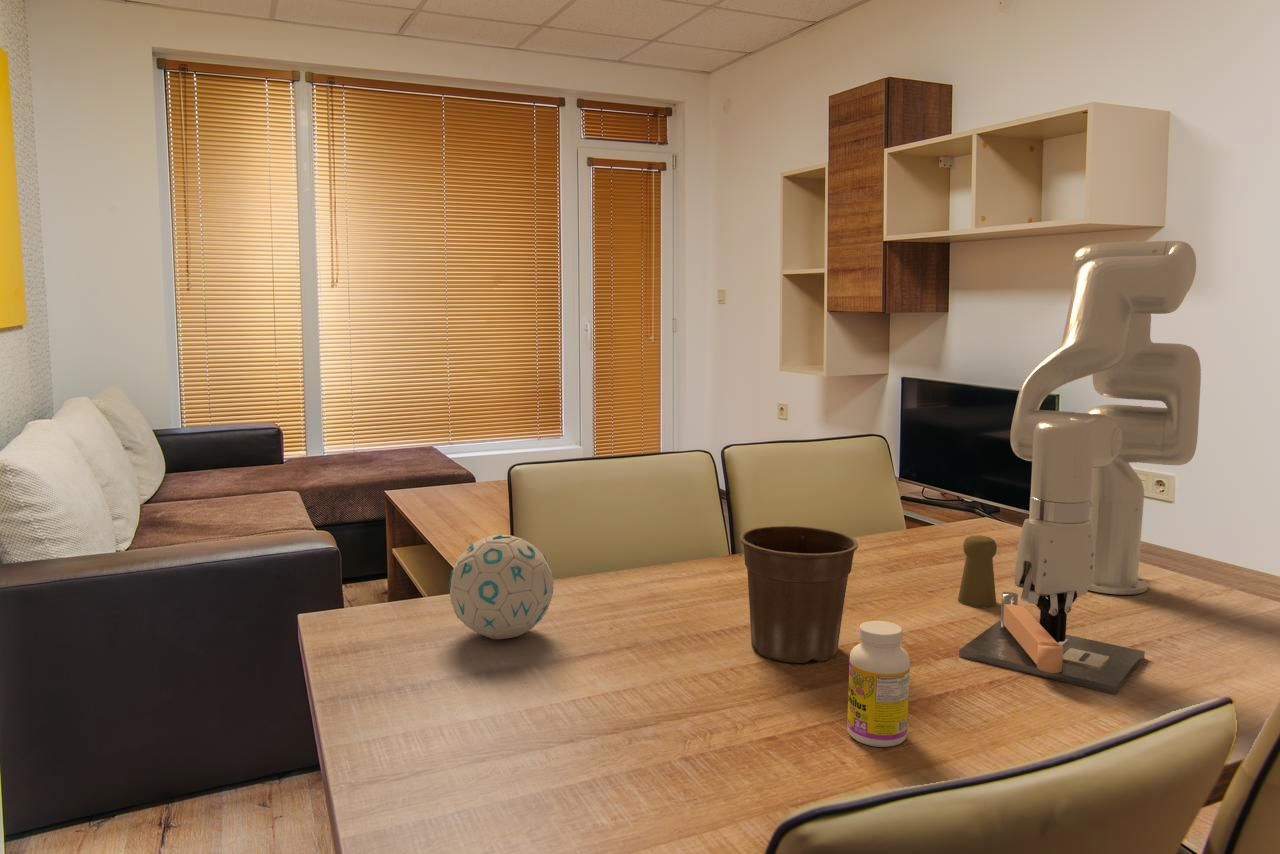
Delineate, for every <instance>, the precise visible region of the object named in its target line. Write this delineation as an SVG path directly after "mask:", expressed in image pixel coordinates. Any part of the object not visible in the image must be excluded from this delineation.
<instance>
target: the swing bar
mask: <svg viewBox="0 0 1280 854" xmlns="http://www.w3.org/2000/svg"><path fill="white" fill-rule="evenodd" d="M1003 624H1004V626H1005V627H1006V628H1007V629H1008V630H1009V632H1010V633H1011V634H1012V635H1013V637H1014V638H1015V639H1016V640H1017V641H1018V643H1019V644H1020V645H1021V646H1022V647H1023V649H1024V650H1025V651H1026V652H1027V654H1028V655H1029V656H1030V657H1031V658H1032V660H1033V661H1034V662H1035V663H1036V664H1037V668H1038V669H1040V670H1042V671H1045V672H1050V673H1058V672H1061V671H1062V662H1063V646H1062V645H1060V644H1058V643H1057V642H1056V641H1055V640H1054V639H1053V638H1052V636H1051V635H1050V634H1049V633H1048V632H1047V631H1046V630H1045V629H1044V628H1043V627H1042V626H1041V625H1040V622H1038V620H1037V619H1036V618H1035V617H1034V616H1033V615H1032V614H1031V612H1029V611H1028V609H1026V607H1025V606H1024V605H1022V604H1017V605H1011V604H1004V618H1003Z"/></svg>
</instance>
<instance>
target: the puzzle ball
mask: <svg viewBox="0 0 1280 854" xmlns="http://www.w3.org/2000/svg"><path fill="white" fill-rule="evenodd" d="M552 573H553V572H552V570H551V566H550V564H549V562H548V561H547V557H546V556H545V555H544V554H543V553H542V552H541V551H540V550H539V549H538V548H537V546H535V545H534V544H532V543H530V542H529V541H527V540H526V539H524V538H523V537H522V538H521V537H518V536H514V535H511V534H496V535H495V534H494V535H489V536H486V537H482V538H481V539H479V540H477V541H475V542H473V543H471V544H470V545H469V546H467V548H466V549H465V550H464V552H462V553H461V554H460V555H459V556H458V558H457V559H456V562H455V564H454V566H453V569H451V573H450V580H449V585H448V590H449V597H450V603H451V607H452V608H453V611H454V614H456V617H457V619H459V620H460V621H461V622H462V623H463V625H465V626H466V627H467V628H469V629H470V630H471V631H473V632H475V633H477V634H479V635H482V636H484V637H486V638H490V639H492V640H505V639H511V638H516V637H520V636H521V635H524V634H525V633H527V632H529V631H531V630H532V629H533V628H535V627H536V626H537V624H539V622H540V621H541V620H542V619H543V618H544V616H545V615H546V614H547V611H548V610H549V607H550V604H551V601H552V598H553V594H554V579H553V574H552Z"/></svg>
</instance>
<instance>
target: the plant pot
mask: <svg viewBox="0 0 1280 854" xmlns="http://www.w3.org/2000/svg"><path fill="white" fill-rule="evenodd" d="M739 539H740V542H741V544H742V545H743V553H744V554H743V555H744V556H743V557H744V564H745V567H746V570H747V586H748V588H747V589H748V603H749V605H748V606H749V619H750V621H749V622H750V623H749V624H750V638H751V641H750V642H751V644H750V645H751V648H752V649H755V650H756V651H757V653H758V654H759V655H761V656H763V657H765V658H769V659H770V660H774V661H778V662H783V663H793V664H807V663H808V662H810V661H812V660H815V661H817V662H819V663H820V662H824V661H827V660H829V659H831V658H833V657H835V656H836V655H837V653H838V649H839V641H840V636H841V635H840V634H841V627H842V626H841V625H842V619H843V615H844V614H843V612H844V605H845V599H846V591H847V584H848V579H849V575H850V574H851V572H852V566H853V560H854V554H855V551H857V549H858V548H859V542H858V541H857V539H855V538H854V537H852V536H851V535H849V534H846V533H843V532H839V531H836V530H831V529H826V528H822V527H821V528H820V527H814V526H813V527H811V526H803V525H802V526H801V525H773V526H762V527H754V528H751V529H748V530H746V531H744V532H742V533H741V535H740V536H739Z"/></svg>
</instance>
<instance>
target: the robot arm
mask: <svg viewBox="0 0 1280 854" xmlns="http://www.w3.org/2000/svg"><path fill="white" fill-rule="evenodd" d="M1072 271H1073V276H1074V281H1073V285H1072V286H1073V287H1072V291H1071V296H1070V301H1069V306H1068V311H1067V315H1066V320H1065V325H1064V331H1063V335H1062V341H1061V344H1060V346H1059V347H1058V348H1057V349H1055V350H1054V351H1053V352H1052V353H1050V354H1049V355H1047V356H1046V357H1045V358H1044V359H1042V361H1040V362H1039V363H1038V364H1037V365H1036V366H1035V367H1034V368H1033V370H1031V371H1030V372H1029V374H1028V375H1027V377H1026V378H1025V380H1023V383H1022V384H1021V386H1020V389H1019V392H1018V395H1017V399H1016V404H1015V408H1014V412H1013V417H1012V421H1011V428H1010V439H1009V440H1010V446H1011V449H1012V452H1013V453H1014V454H1015V456H1017V457H1018V458H1020V459H1022V460H1025V461H1026V462H1027V461H1028V462H1031V480H1030V482H1031V483H1030V497H1029V515H1028V516H1029V517H1028V518H1026V519H1024V521H1023V524H1022V527H1021V531H1020V534H1019V540H1018V545H1017V550H1016V557H1015V558H1016V559H1015V568H1014V585H1015V586H1016V587H1018V588H1021V589H1022V591H1021V596H1020V599H1021V600H1022V601H1023V602H1025V603H1028V604H1032V605H1035V606H1036V609H1037V610H1039V611H1040V613H1039V615H1040V616H1039V624H1040V625H1041V626H1042V627H1043V628H1044V629H1045V630H1046V631H1047V632H1048V633H1049V634H1050V635H1051V636H1052V638H1053V639H1054V640H1055V641H1056V642H1057V643H1058V642H1063V641H1065V637H1066V635H1067V617H1068V614H1070V613H1071V612H1072V611H1071V610H1072V606H1073V604H1074V602H1075V601H1076V600H1077V599H1078V598H1080V597H1082V596H1084V595H1087V593H1088V591H1091V592H1094V593H1099V594H1107V595H1109V594H1110V595H1120V596H1122V595H1124V596H1127V595H1131V596H1132V595H1138V594H1142V593H1145V592H1146V591H1147V590H1148V582H1147V580H1145V579H1144V578H1142V577H1141V576H1139V567H1140V555H1141V554H1140V553H1141V544H1142V543H1141V542H1142V541H1141V540H1142V530H1143V529H1142V527H1143V515H1144V501H1145V500H1144V498H1145V488H1144V485H1143V482H1142V480H1141V478H1140V476H1139V475H1138V473H1137V472H1136V471H1135V470H1134V468H1133V467H1132V466H1131V464H1130V463H1135V464H1136V463H1139V464H1140V463H1142V464H1151V465H1153V464H1154V465H1161V466H1162V465H1163V466H1183V465H1186V464H1188V463H1189V462H1191V461H1192V460H1193V458H1194V456H1195V454H1196V450H1197V445H1198V438H1199V437H1198V435H1199V434H1198V433H1199V418H1200V401H1201V399H1200V397H1201V386H1202V385H1201V381H1202V380H1201V379H1202V376H1201V375H1202V373H1201V372H1202V368H1201V361H1200V360H1201V359H1200V357H1199V355H1198V352H1197V351H1196V350H1195V349H1194V348H1193V347H1192V346H1189V345H1187V344H1184V343H1183V344H1182V343H1174V342H1173V343H1171V342H1170V343H1169V342H1168V343H1166V342H1165V343H1164V342H1153V341H1152V340H1151V328H1152V327H1151V326H1152V325H1151V324H1152V315H1153V314H1155V315H1162V314H1164V315H1165V314H1170V313H1171V314H1172V313H1173V312H1175V311H1176V310H1178V309H1179V307H1180V306H1181V305H1182V303H1183V302H1184V299H1185V298H1186V296H1187V294H1189V291H1190V290H1191V287H1192V286H1193V283H1194V280H1195V276H1196V272H1197V257H1196V253H1195V251H1194V248H1193V247H1192V245H1190V243H1187V242H1185V241H1181V240H1163V241H1162V240H1159V241H1158V240H1154V241H1115V242H1113V241H1111V242H1099V243H1093V244H1087V245H1085V246H1082V247H1081V248H1079V249H1077V250H1076V251H1075V253H1074V255H1073V259H1072ZM1091 375H1092V377H1091V378H1092V384H1093V388H1094V390H1095V391H1096V392H1097V394H1098V395H1100V396H1104V397H1107V398H1111V399H1112V398H1113V399H1122V400H1138V401H1152V402H1155V401H1156V402H1162V403H1163V404H1165V406H1166V407H1157V406H1156V407H1153V406H1142V405H1129V404H1128V405H1127V404H1101V405H1097V406H1095V407H1092V408H1090V409H1089V410H1087V411H1086V412H1074V411H1061V410H1049V409H1048V410H1046V409H1044V410H1043V409H1040V408H1041V405H1042V403H1043V402H1044V400H1045V399H1046V398H1047V397H1048V396H1049V395H1050V394H1051V393H1052V392H1054V391H1055V390H1057V389H1058V388H1060V387H1062V386H1064V385H1066V384H1067V383H1072V382H1073V381H1074V382H1075V381H1077V380H1080V379H1082V378H1086V377H1088V376H1091Z"/></svg>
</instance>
